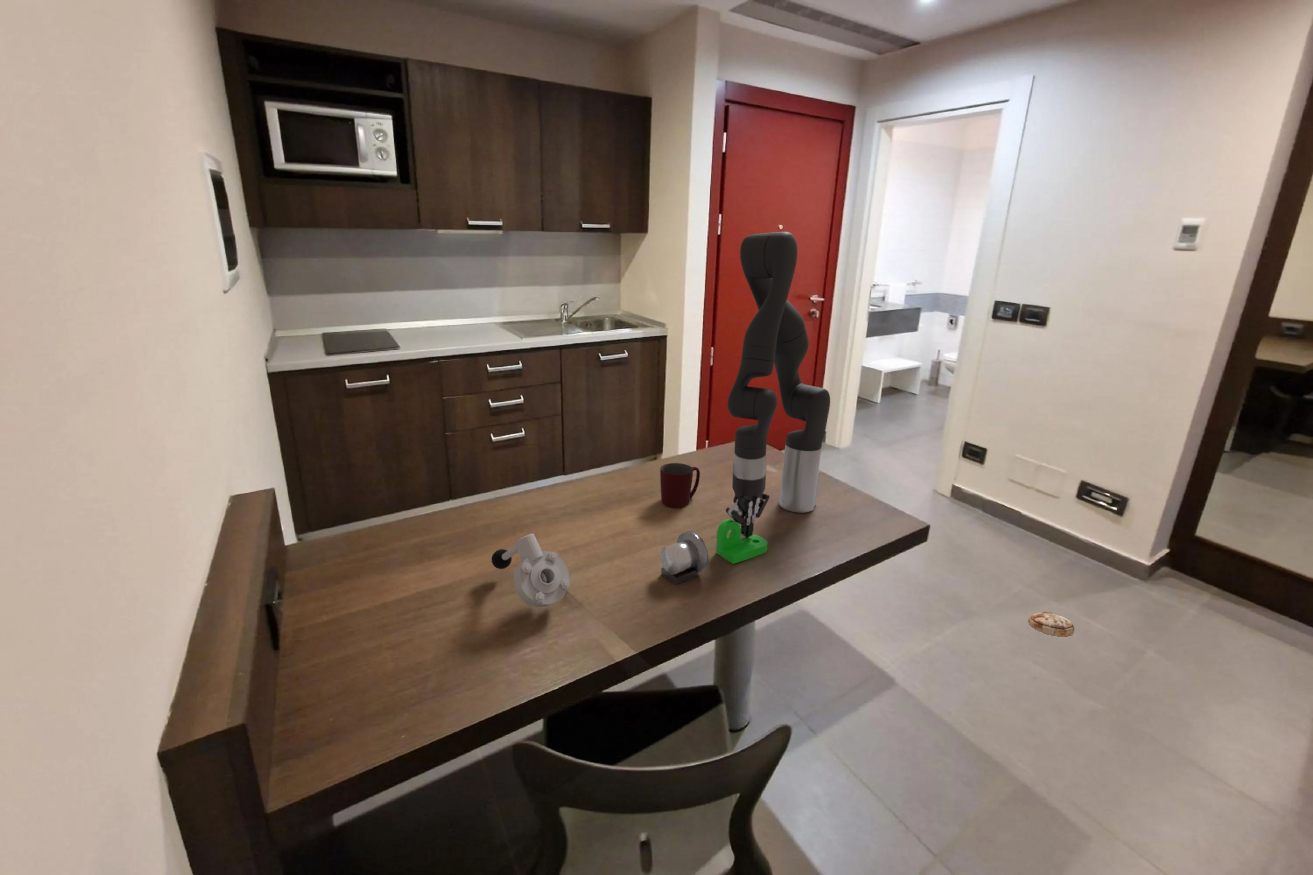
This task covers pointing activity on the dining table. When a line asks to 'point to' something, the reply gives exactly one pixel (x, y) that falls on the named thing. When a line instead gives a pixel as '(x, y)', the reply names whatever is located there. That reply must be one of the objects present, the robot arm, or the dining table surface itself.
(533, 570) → the mechanical valve
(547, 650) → the dining table surface
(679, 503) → the mug
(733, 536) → the mechanical part
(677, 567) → the grey mushroom knob
